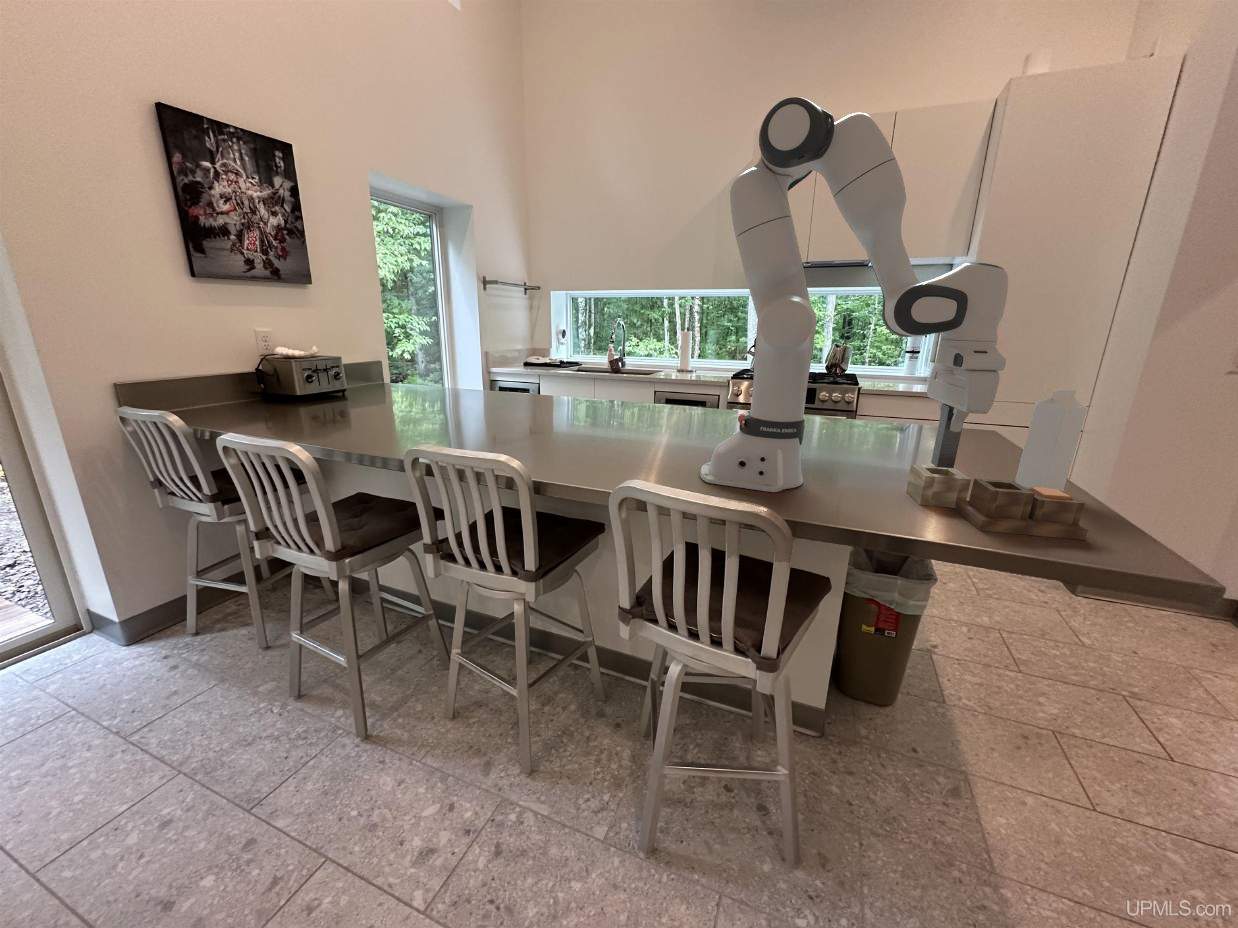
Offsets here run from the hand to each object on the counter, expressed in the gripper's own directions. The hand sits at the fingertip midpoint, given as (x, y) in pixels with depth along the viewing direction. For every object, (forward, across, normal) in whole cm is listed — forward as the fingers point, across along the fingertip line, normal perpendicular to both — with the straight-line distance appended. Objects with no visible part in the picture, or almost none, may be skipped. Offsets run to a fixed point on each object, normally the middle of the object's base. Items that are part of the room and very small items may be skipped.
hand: (949, 428), depth 98 cm
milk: (+15, -11, +24) cm, 30 cm away
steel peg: (+8, 0, 0) cm, 8 cm away
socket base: (+15, +10, +10) cm, 20 cm away
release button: (+12, +10, +14) cm, 21 cm away
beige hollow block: (+15, 0, 0) cm, 15 cm away
